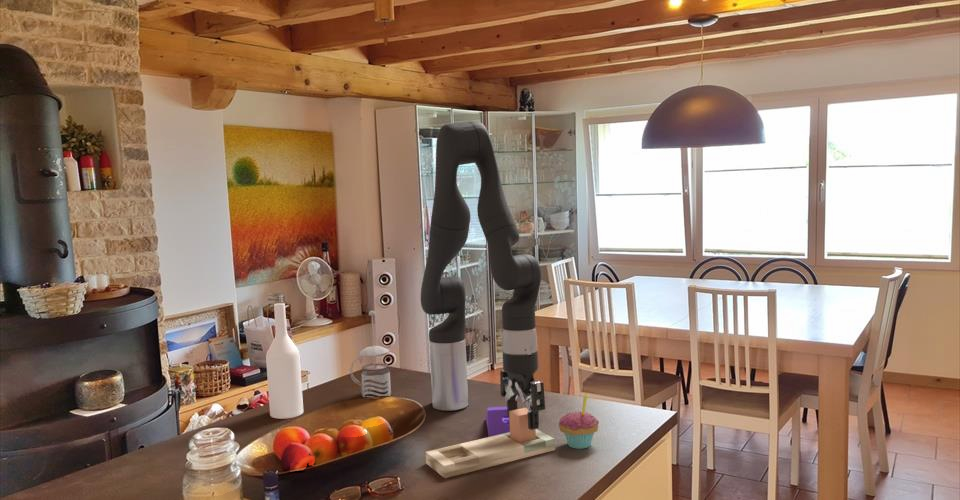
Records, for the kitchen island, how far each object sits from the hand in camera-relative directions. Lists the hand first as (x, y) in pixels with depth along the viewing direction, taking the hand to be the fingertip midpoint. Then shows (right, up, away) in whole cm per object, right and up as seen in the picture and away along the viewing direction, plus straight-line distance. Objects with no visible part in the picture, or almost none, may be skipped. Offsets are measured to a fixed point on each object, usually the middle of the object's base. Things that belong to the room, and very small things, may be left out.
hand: (522, 423), depth 149 cm
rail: (-7, -6, -3) cm, 10 cm away
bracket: (-4, -5, +14) cm, 15 cm away
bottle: (-58, -6, +26) cm, 64 cm away
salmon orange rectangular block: (0, -4, 0) cm, 4 cm away
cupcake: (+12, -5, +1) cm, 13 cm away
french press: (-38, -4, +40) cm, 55 cm away
